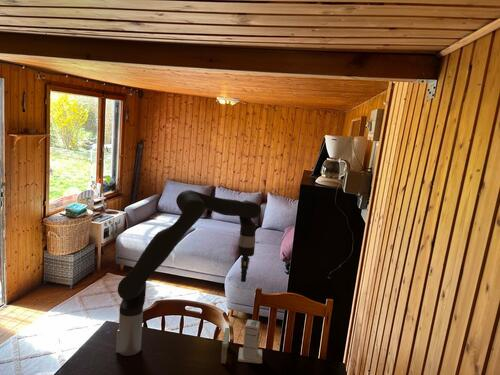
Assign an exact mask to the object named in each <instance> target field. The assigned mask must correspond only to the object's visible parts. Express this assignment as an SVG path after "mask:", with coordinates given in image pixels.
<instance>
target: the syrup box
mask: <svg viewBox="0 0 500 375" xmlns="http://www.w3.org/2000/svg"><path fill="white" fill-rule="evenodd" d="M260 326H261V321H259V320H253V319H247V320H246V322H245V325H244V335H243V347H242V348H243V357H244V358H248V359H254V360H256V357H257V353H258V349H259V344H260V343H259V342H260V341H259V340H260V328H261V327H260Z"/></svg>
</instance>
